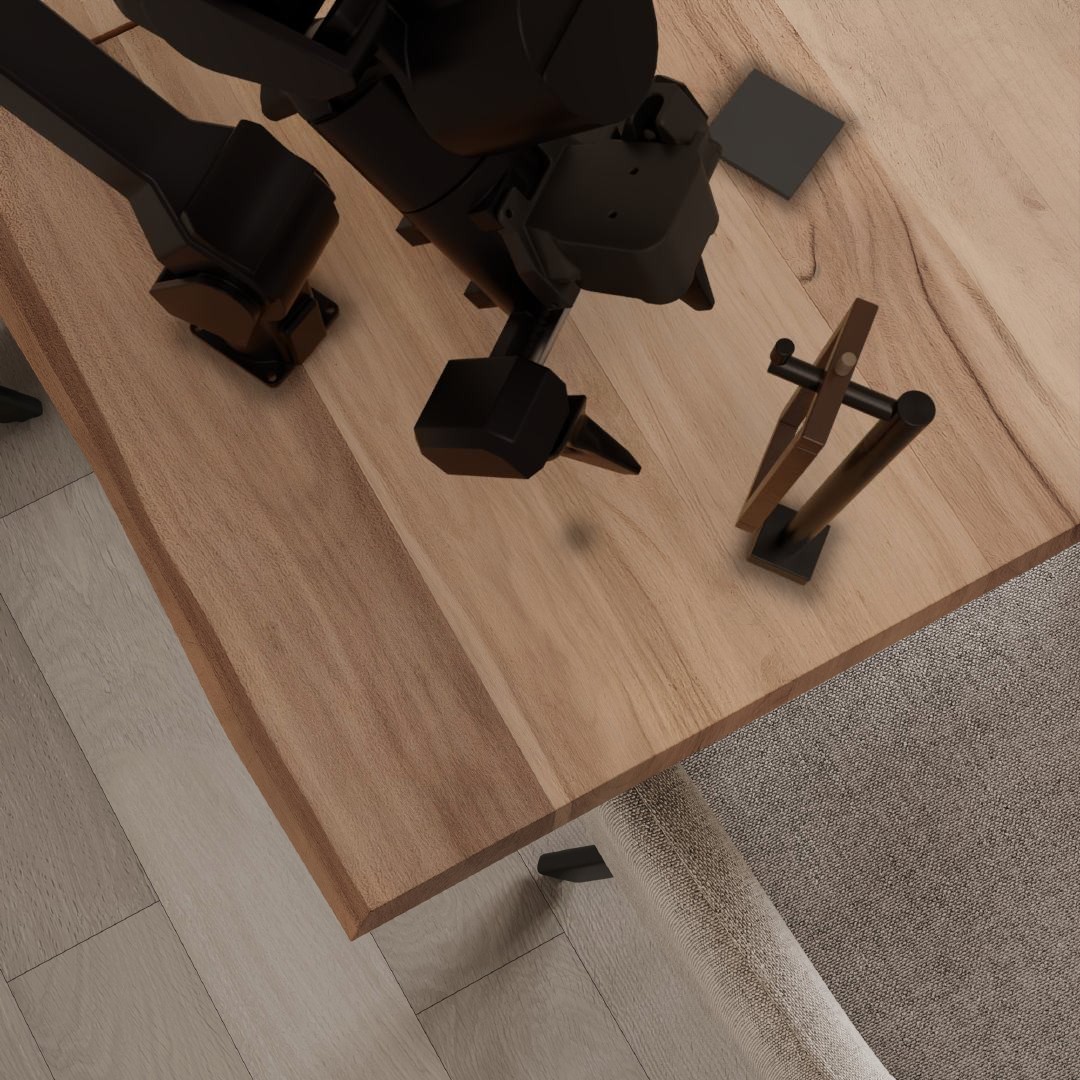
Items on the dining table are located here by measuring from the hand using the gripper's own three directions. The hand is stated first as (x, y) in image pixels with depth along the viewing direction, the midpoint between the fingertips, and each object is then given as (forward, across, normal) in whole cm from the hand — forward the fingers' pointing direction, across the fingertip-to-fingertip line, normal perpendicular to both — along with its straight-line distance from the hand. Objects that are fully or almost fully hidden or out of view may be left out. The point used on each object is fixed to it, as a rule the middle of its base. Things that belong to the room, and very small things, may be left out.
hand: (670, 387), depth 51 cm
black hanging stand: (+14, 0, +4) cm, 15 cm away
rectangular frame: (+8, 0, -1) cm, 8 cm away
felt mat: (+8, +26, +10) cm, 29 cm away
